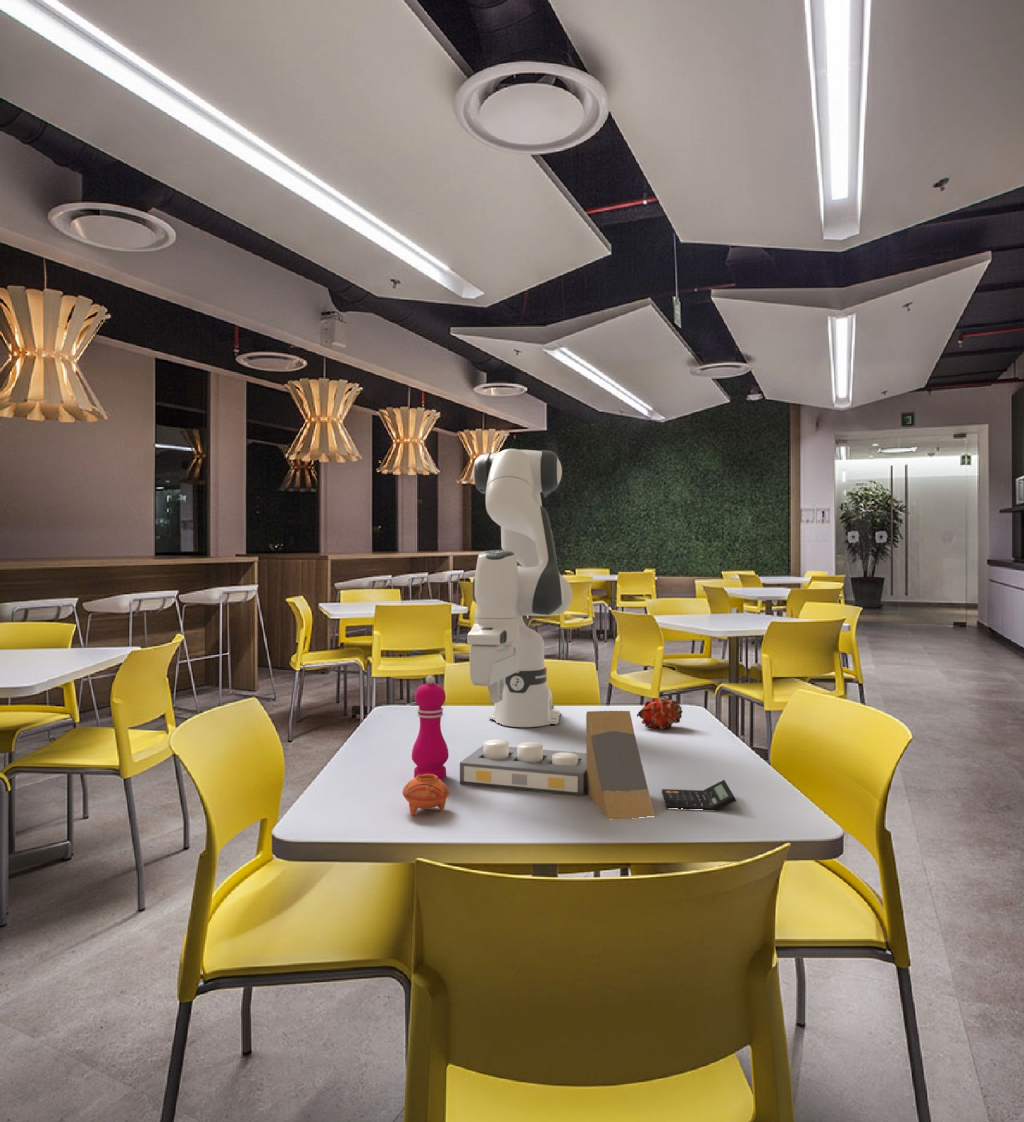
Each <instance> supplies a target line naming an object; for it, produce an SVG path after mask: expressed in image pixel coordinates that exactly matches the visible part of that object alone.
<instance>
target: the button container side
mask: <svg viewBox="0 0 1024 1122" xmlns="http://www.w3.org/2000/svg"><path fill="white" fill-rule="evenodd" d="M552 764H555V765H566V766H577V765H578V755H576V754H573V753H556V754H553V755H552Z"/></svg>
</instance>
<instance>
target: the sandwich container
mask: <svg viewBox="0 0 1024 1122" xmlns="http://www.w3.org/2000/svg"><path fill="white" fill-rule="evenodd" d="M585 714H586V715H585V717H586V718H585V719H586V720H585V721H586V722H585V723H586V724H585V725H586V728H585V729H586V732H585V735H586V736H585V737H586V739H585V740H586V742H585V743H586V744H585V745H586V746H585V747H586V752H585V753H586V761H587V791H586V793H587V792H588V793H587V794H588V796H589V795H590V796H589V798H591V800H592V802H593V801H594V802H593V803H594V804H595V803H596V804H595V806H596V807H597V806H598V807H599V808H600V809H599V808H598V807H597V808H598V809H599V810H600V811H601V813H602V812H603V813H602V814H603V815H604V816H605V818H607V819H623V820H633V819H632V818H639V817H647V816H655V817H656V814H655V810H654V807H653V803H652V799H651V798H652V797H651V796H650V791H649V787H648V784H647V780H646V775H645V771H644V768H643V764H642V759H641V754H640V750H639V747H638V743H637V738H636V734H635V731H634V730H635V729H634V726H633V721H632V720H633V719H632V715H631V711H630V710H595V711H594V710H593V711H592V710H589V711H586V713H585ZM607 819H606V820H607Z"/></svg>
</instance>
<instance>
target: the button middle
mask: <svg viewBox="0 0 1024 1122" xmlns="http://www.w3.org/2000/svg"><path fill="white" fill-rule="evenodd" d="M516 747H517V761H520V762H532V763H541V762H542V761H543V750H544V745H543V744H542V743H540V742H533V741H527V742H526V741H525V742H519V743H518V744H517V745H516Z"/></svg>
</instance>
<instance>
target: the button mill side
mask: <svg viewBox="0 0 1024 1122" xmlns="http://www.w3.org/2000/svg"><path fill="white" fill-rule="evenodd" d="M509 744H510V743H509V741H507V740H505V739H488V740H484V741H483V745H484V756H483V758H486V759H497V760H506V759H507V758H508V757H509V747H510V745H509Z"/></svg>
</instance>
